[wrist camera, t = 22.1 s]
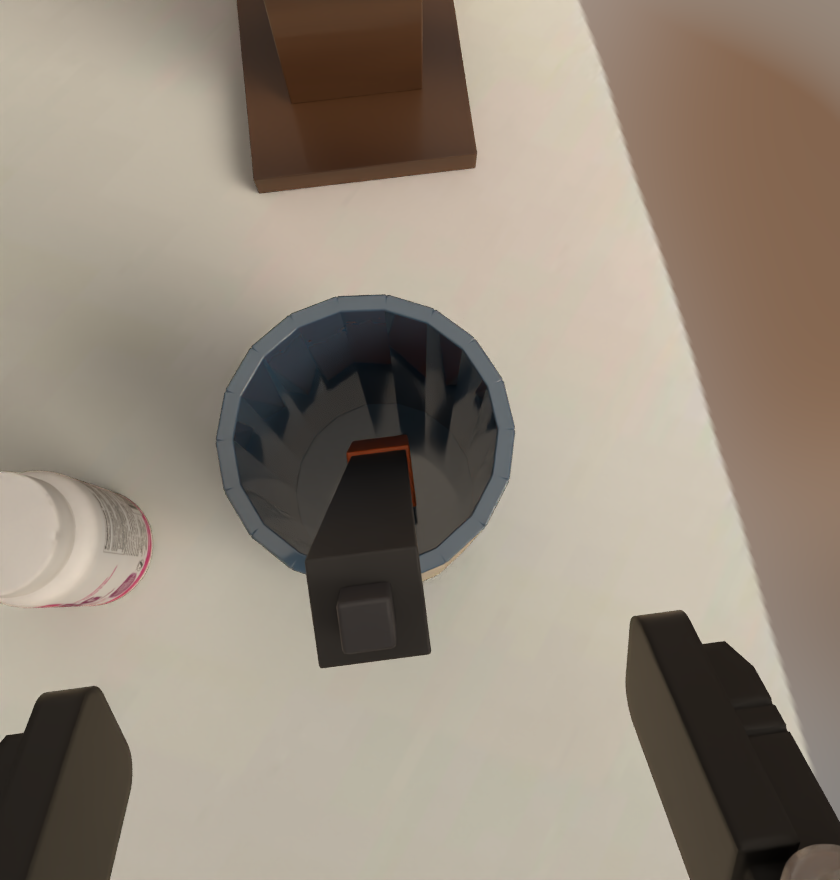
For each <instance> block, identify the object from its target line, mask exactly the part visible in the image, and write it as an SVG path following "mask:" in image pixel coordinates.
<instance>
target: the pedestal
mask: <svg viewBox="0 0 840 880" xmlns="http://www.w3.org/2000/svg"><path fill="white" fill-rule="evenodd" d="M237 8H238V19H239V30H240V40H241V51H242V61H243V72H244V82H245V93H246V104H247V114H248V125H249V135H250V146H251V156H252V167H253V178H254V182H255V184H256V187H257V189H258V192H259V193H266V192H274V191H283V190H291V189H300V188H308V187H316V186H325V185H333V184H342V183H350V182H359V181H367V180H376V179H384V178H393V177H401V176H410V175H418V174H427V173H435V172H443V171H452V170H460V169H469V168H475V166H476V158H477V150H476V144H475V137H474V131H473V125H472V118H471V112H470V105H469V99H468V92H467V86H466V79H465V73H464V66H463V60H462V53H461V47H460V40H459V34H458V28H457V21H456V15H455V8H454V2H453V0H237Z"/></svg>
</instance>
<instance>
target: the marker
mask: <svg viewBox="0 0 840 880" xmlns="http://www.w3.org/2000/svg"><path fill="white" fill-rule="evenodd" d="M346 456H347V463H348V464H347V467H346V469H345V471H344V473H343V476H342V478H341V480H340V482H339V485H338V487H337V489H336V492H335V494H334V496H333V498H332V501H331V503H330V505H329V507H328V510H327V512H326V514H325V516H324V519H323V521H322V523H321V525H320V528H319V530H318V532H317V534H316V537H315V539H314V541H313V543H312V546H311V548H310V550H309V552H308V555H307V557H306V559H305V569H306V576H307V583H308V590H309V597H310V604H311V611H312V618H313V625H314V633H315V640H316V647H317V654H318V661H319V666H320V668H328V667H336V666H343V665H351V664H358V663H366V662H374V661H381V660H389V659H397V658H404V657H412V656H419V655H427V654H430V653H431V647H430V639H429V631H428V623H427V615H426V607H425V599H424V591H423V583H422V575H421V567H420V559H419V551H418V543H417V536H416V528H415V520H414V512H413V507H415V506H416V496H415V488H414V480H413V472H412V464H411V456H410V448H409V442H408V436H407V435H398V436H390V437H382V438H374V439H366V440H358V441H353V442H352V443H351V445H350V447H349V449H348V451H347V454H346Z"/></svg>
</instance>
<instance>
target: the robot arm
mask: <svg viewBox="0 0 840 880" xmlns="http://www.w3.org/2000/svg"><path fill="white" fill-rule="evenodd" d="M626 695H627V701H628V707H629V711H630V715H631V718H632V722H633V725H634V727H635V730H636V733H637V736H638V738H639V741H640V744H641V747H642V749H643V752H644V755H645V758H646V760H647V763H648V766H649V768H650V771H651V774H652V777H653V779H654V782H655V785H656V788H657V790H658V793H659V796H660V798H661V801H662V804H663V807H664V809H665V812H666V815H667V818H668V820H669V823H670V826H671V829H672V831H673V834H674V837H675V839H676V842H677V845H678V848H679V850H680V853H681V856H682V859H683V861H684V864H685V867H686V869H687V872H688V875H689V878H690V880H840V822H839V820H838V818H837V816H836V814H835V813H834V811H833V809H832V807H831V805H830V804H829V802H828V800H827V798H826V796H825V794H824V793H823V791H822V789H821V787H820V786H819V784H818V782H817V780H816V778H815V776H814V775H813V773H812V771H811V769H810V767H809V766H808V764H807V762H806V760H805V758H804V757H803V755H802V753H801V751H800V749H799V748H798V746H797V744H796V742H795V740H794V738H793V737H792V735H791V733H790V732H788V731H787V729H786V724H785V722H784V720H783V719H782V717H781V715H780V713H779V711H778V710H777V708H776V706H775V705H773V704H772V701H771V697H770V695H769V693H768V692H767V690H766V688H765V686H764V684H763V682H762V681H761V679H760V677H759V675H758V673H757V672H756V670H755V668H754V667H753V666H752V665H751V664H750V663H749V662H748V661H747V660H745V659H744V658H743V657H742V656H741V655H740V654H739V653H738V652H736V651H735V650H734V649H733V648H732V647H731V646H730V645H729V644H727V643H726V642H725V641H723V642H715V643H708V644H702V643H701V641H700V639H699V637H698V635H697V633H696V631H695V629H694V627H693V625H692V623H691V621H690V620H689V618H688V616H687V615H686V613H685V612H684V611H682V610H677V611H669V612H662V613H654V614H647V615H639V616H633V617H632V618H631V621H630V629H629V642H628V655H627V668H626ZM131 784H132V759H131V753H130V749H129V746H128V744H127V742H126V740H125V738H124V736H123V733H122V731H121V729H120V727H119V725H118V723H117V721H116V719H115V717H114V715H113V713H112V711H111V709H110V707H109V705H108V703H107V701H106V698H105V696H104V694H103V693H102V691H101V690H100V688H98V687H97V686H91V687H83V688H76V689H68V690H61V691H53V692H46V693H43V694H42V695H41V696H40V697H39V698H38V700H37V701H36V703H35V705H34V708H33V710H32V713H31V716H30V718H29V721H28V724H27V726H26V729H25V732H24V733H20V734H13V735H6V736H5V738H4V739H3V740H2V741H1V743H0V880H110V876H111V872H112V868H113V863H114V859H115V855H116V851H117V846H118V842H119V838H120V833H121V829H122V825H123V821H124V816H125V812H126V808H127V803H128V799H129V795H130V790H131Z"/></svg>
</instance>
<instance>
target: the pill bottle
mask: <svg viewBox="0 0 840 880" xmlns="http://www.w3.org/2000/svg"><path fill="white" fill-rule="evenodd" d="M152 551H153V539H152V532H151V528H150V525H149V522H148V520H147V518H146V516H145V515H144V513H143V512H142V511H141V509H140V508H139V507H138V506H137V505H136V504H135V503H133V502H132V501H131V500H129V499H128V498H126V497H124V496H122V495H120V494H118V493H115V492H112V491H109V490H107V489H103V488H101V487H98V486H95V485H92V484H89V483H86V482H83V481H80V480H78V479H74V478H71V477H68V476H65V475H62V474H58V473H55V472H49V471H26V472H21V473H16V472H9V471H0V603H2V604H5V605H9V606H13V607H21V608H44V607H71V606H96V605H102V604H107V603H110V602H113V601H115V600H117V599H119V598H121V597H123V596H124V595H126V594H127V593H129V592H130V591H131V590H132V589H133V588H134V587H135V586H136V585H137V584H138V583H139V582H140V581H141V579H142V578H143V576H144V575H145V573H146V571H147V569H148V567H149V564H150V561H151V557H152Z"/></svg>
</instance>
